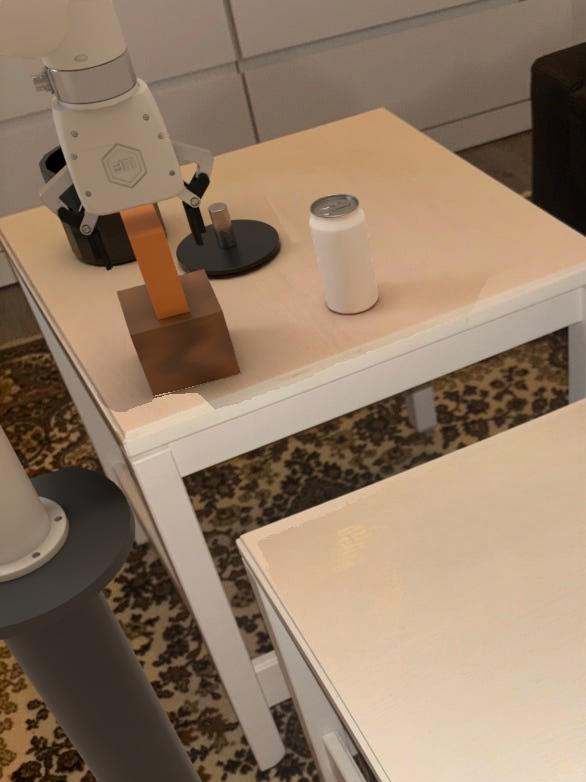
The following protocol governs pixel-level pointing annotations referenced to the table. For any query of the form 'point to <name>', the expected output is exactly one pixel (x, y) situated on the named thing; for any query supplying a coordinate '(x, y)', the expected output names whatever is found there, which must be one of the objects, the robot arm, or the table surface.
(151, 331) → the riser
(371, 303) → the can
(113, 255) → the trash tin
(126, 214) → the block
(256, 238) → the tin lid
